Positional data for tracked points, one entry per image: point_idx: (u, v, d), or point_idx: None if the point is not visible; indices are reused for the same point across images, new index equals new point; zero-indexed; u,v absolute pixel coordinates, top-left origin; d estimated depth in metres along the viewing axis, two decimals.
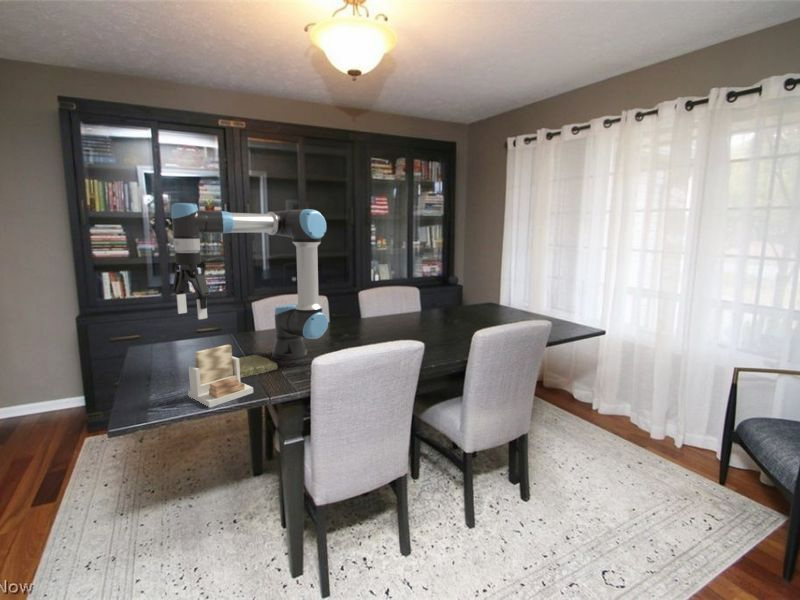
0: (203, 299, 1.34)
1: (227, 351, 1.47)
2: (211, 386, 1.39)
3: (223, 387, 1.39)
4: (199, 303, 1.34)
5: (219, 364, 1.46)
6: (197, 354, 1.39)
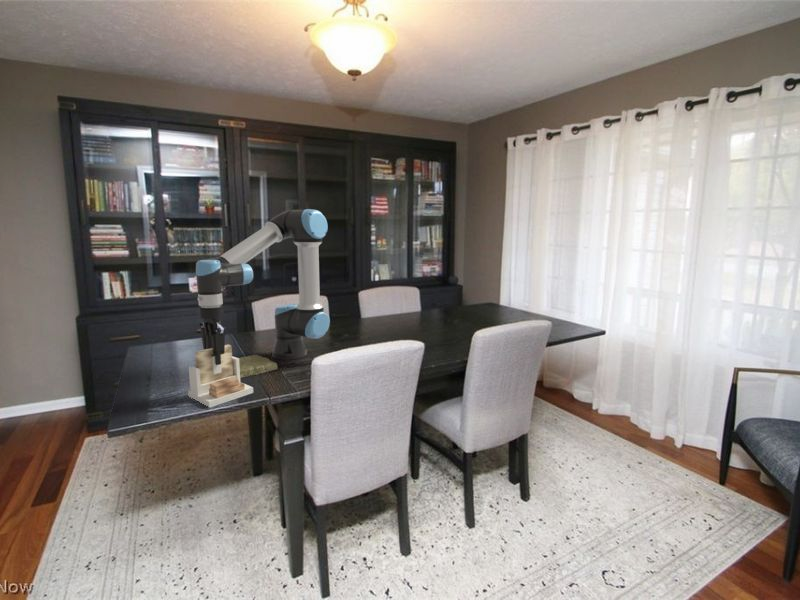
0: (218, 356, 1.43)
1: (227, 351, 1.48)
2: (211, 386, 1.39)
3: (223, 387, 1.39)
4: (214, 359, 1.43)
5: None
6: (197, 354, 1.39)
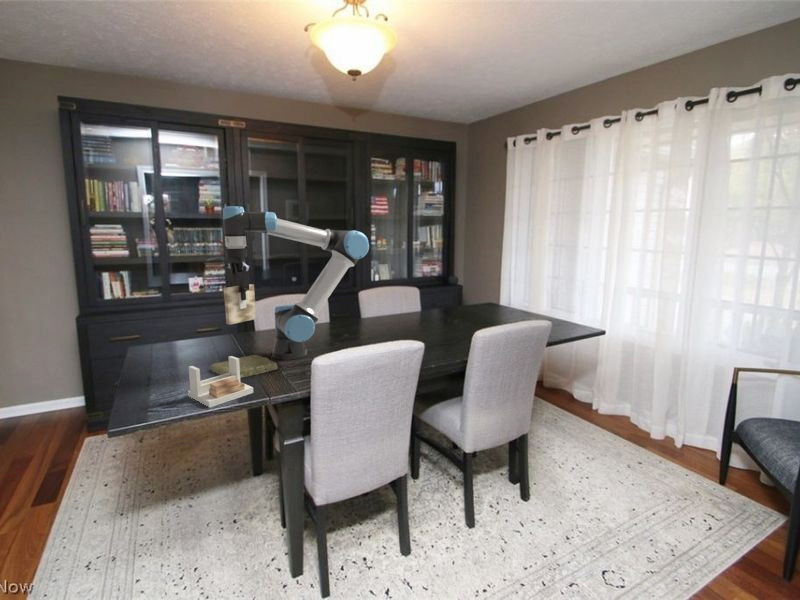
0: (243, 292, 1.62)
1: (250, 289, 1.66)
2: (211, 386, 1.39)
3: (223, 387, 1.39)
4: (240, 295, 1.62)
5: None
6: (225, 289, 1.58)
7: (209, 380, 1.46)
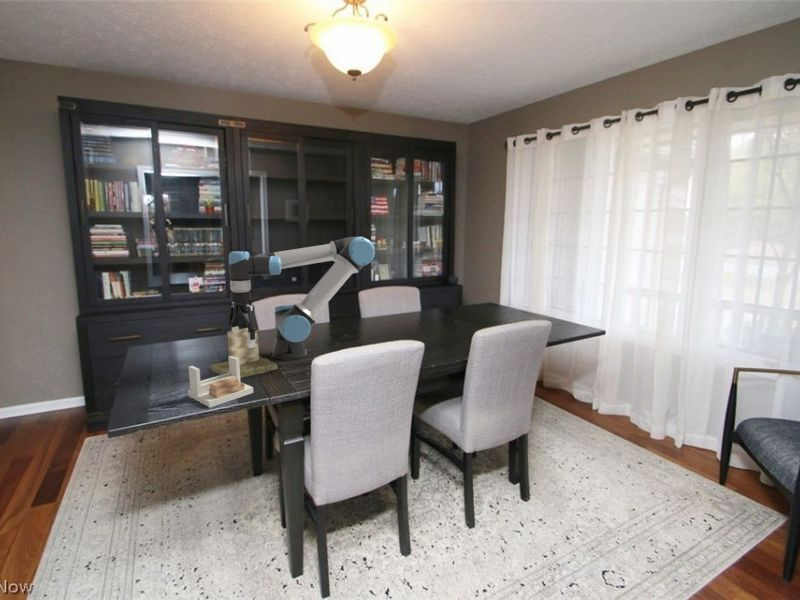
0: (253, 332, 1.64)
1: None
2: (211, 386, 1.39)
3: (223, 387, 1.39)
4: (249, 335, 1.64)
5: (247, 343, 1.69)
6: (229, 333, 1.63)
7: (209, 380, 1.46)
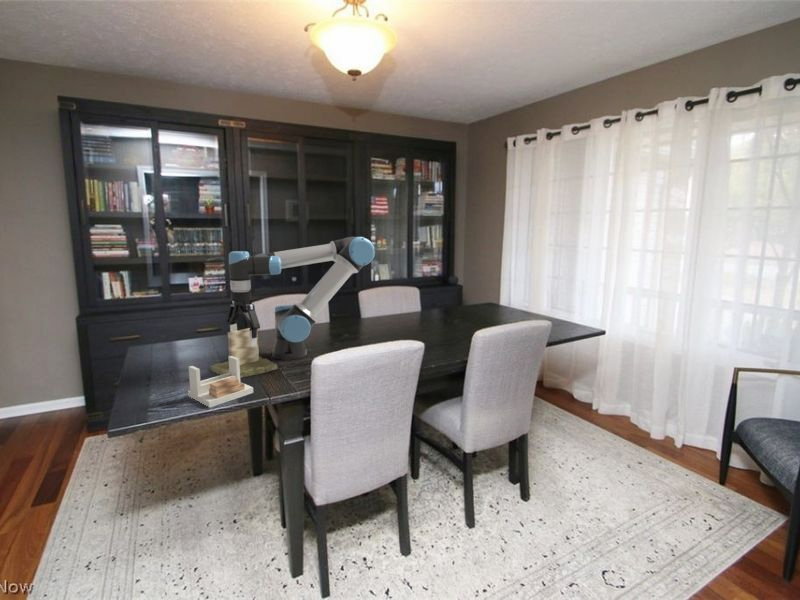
0: (254, 330, 1.63)
1: None
2: (211, 386, 1.39)
3: (223, 387, 1.39)
4: (251, 333, 1.63)
5: (247, 343, 1.70)
6: (230, 334, 1.63)
7: (209, 380, 1.46)
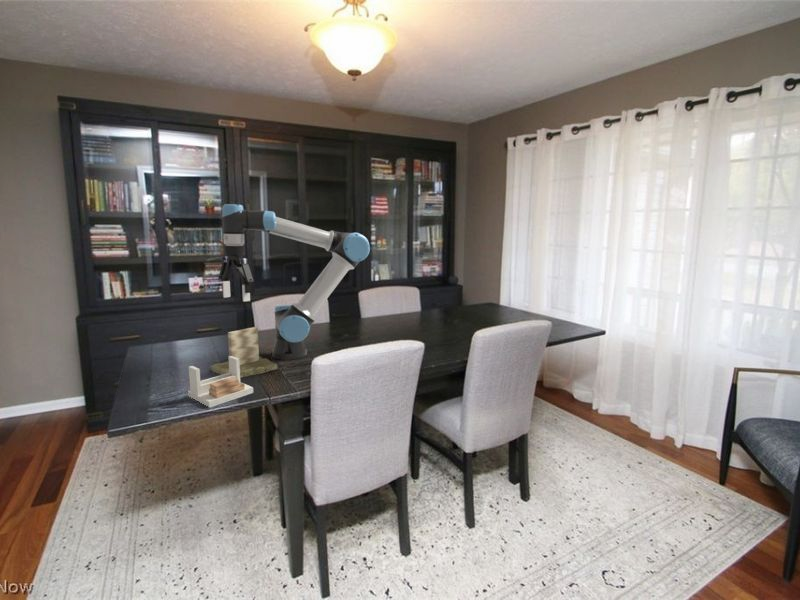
0: (248, 284, 1.60)
1: (254, 332, 1.71)
2: (211, 386, 1.39)
3: (223, 387, 1.39)
4: (244, 288, 1.60)
5: (247, 343, 1.69)
6: (230, 334, 1.63)
7: (209, 380, 1.46)
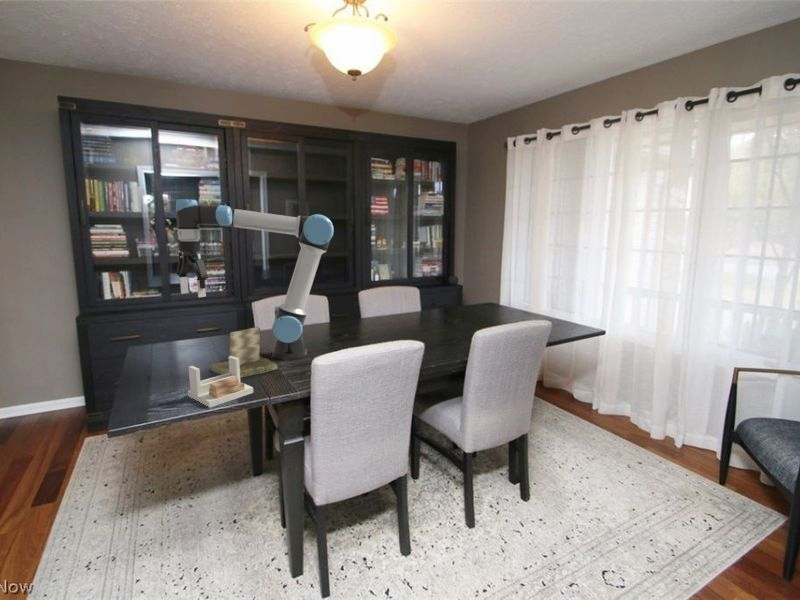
0: (202, 280, 1.59)
1: (256, 333, 1.70)
2: (211, 386, 1.39)
3: (223, 387, 1.39)
4: (199, 283, 1.59)
5: (249, 344, 1.69)
6: (232, 335, 1.62)
7: (209, 380, 1.46)
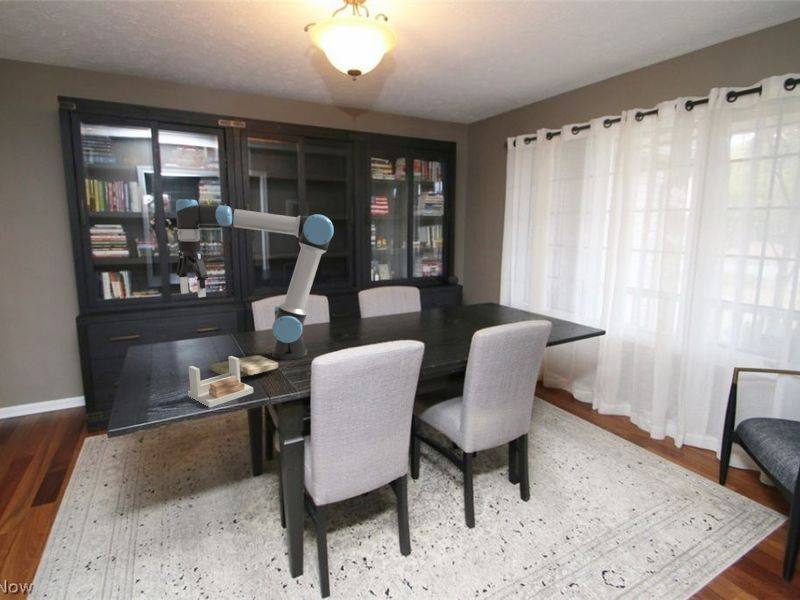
0: (202, 280, 1.59)
1: None
2: (211, 386, 1.39)
3: (223, 387, 1.39)
4: (199, 283, 1.59)
5: None
6: (250, 373, 1.57)
7: (209, 380, 1.46)
